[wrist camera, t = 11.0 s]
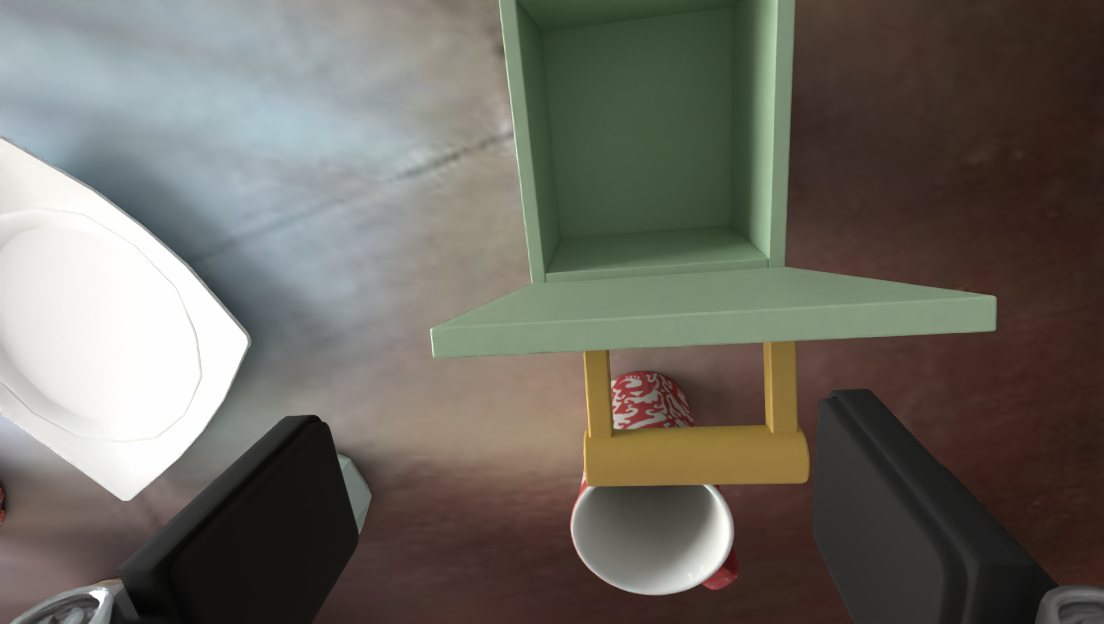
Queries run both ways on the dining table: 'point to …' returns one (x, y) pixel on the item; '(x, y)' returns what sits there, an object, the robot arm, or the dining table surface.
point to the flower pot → (0, 513)
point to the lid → (704, 319)
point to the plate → (103, 330)
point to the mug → (654, 510)
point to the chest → (651, 134)
